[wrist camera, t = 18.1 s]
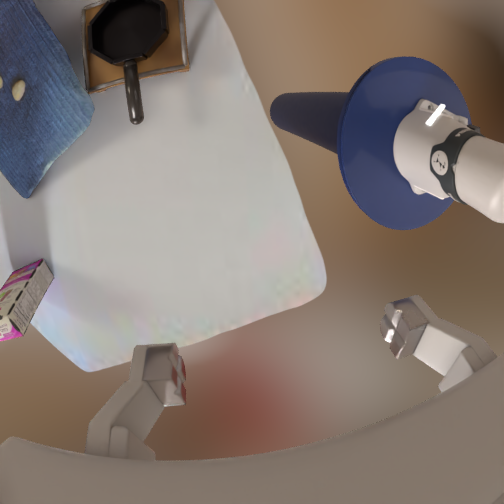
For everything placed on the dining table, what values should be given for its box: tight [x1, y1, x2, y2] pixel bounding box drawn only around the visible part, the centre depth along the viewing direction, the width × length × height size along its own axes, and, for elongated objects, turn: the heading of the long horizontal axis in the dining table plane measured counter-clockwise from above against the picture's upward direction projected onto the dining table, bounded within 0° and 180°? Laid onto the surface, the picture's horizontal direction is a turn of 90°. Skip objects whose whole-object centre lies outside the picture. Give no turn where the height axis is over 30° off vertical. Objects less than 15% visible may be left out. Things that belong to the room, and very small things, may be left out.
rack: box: [82, 0, 189, 94], centre depth 26 cm, size 14×14×5 cm
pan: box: [88, 0, 169, 125], centre depth 25 cm, size 10×19×3 cm, turn 4°
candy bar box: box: [0, 259, 54, 341], centre depth 36 cm, size 11×5×16 cm, turn 103°
